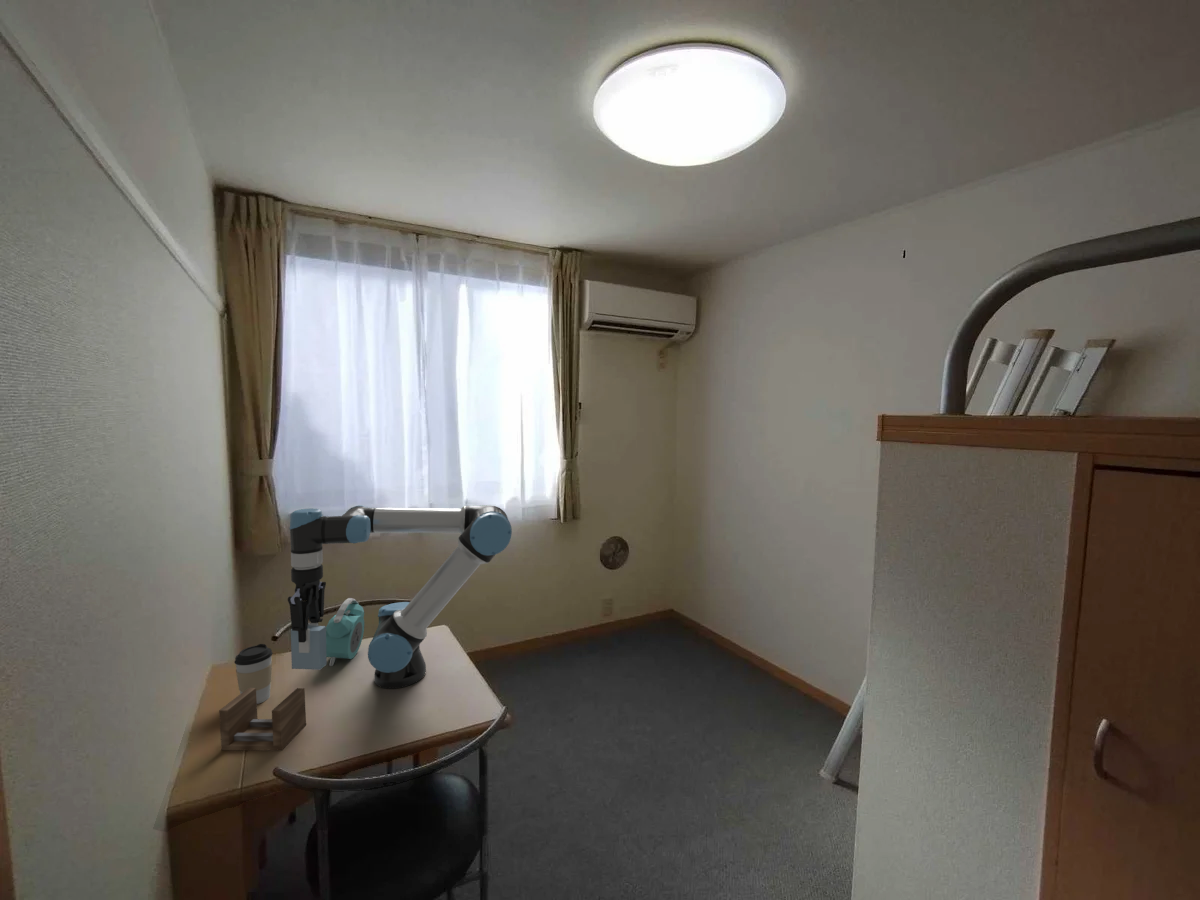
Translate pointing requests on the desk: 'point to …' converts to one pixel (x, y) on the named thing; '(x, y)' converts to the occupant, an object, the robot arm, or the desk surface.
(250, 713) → the frame
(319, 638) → the door panel
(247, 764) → the desk surface
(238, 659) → the coffee cup
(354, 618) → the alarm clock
